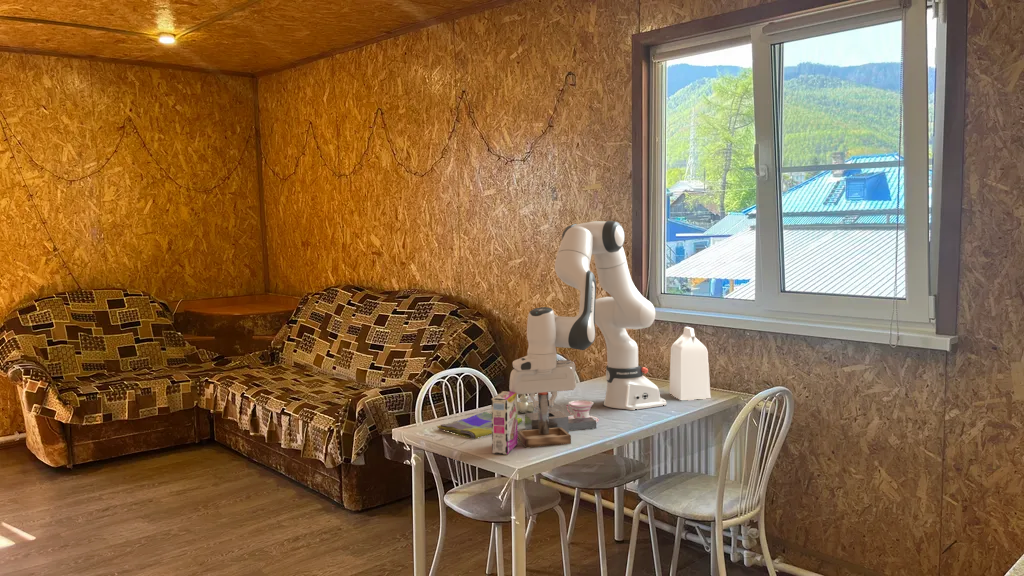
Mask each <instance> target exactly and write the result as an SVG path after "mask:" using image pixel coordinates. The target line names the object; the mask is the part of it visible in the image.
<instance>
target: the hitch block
mask: <svg viewBox="0 0 1024 576" xmlns="http://www.w3.org/2000/svg"><path fill="white" fill-rule="evenodd" d="M568 416H569V415H568ZM568 416H567V415H566V414H565V413H564V412H562V411H561V410H552V411H550V410H549V428H558V427H562V428H563V429H564V430H565V431H566V432H567V433H569V432H572V431H580V430H581V431H582V430H592V429H591V428H594V429H597V423H596V420H594V419H593V418H592V417H589V418H577V419H568ZM524 429H525V430H535V429H539V423H538V411H537V412H534V413H529V412H528V413H524ZM569 434H570V433H569Z"/></svg>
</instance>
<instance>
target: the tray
mask: <svg viewBox="0 0 1024 576" xmlns="http://www.w3.org/2000/svg"><path fill="white" fill-rule="evenodd" d="M518 439H519V440H518V442H520V443H521V444H522V445H523V446H524V448H526V447H530V448H538V446H540V447H547V446H548V447H551V446H560V445H561V444H562V445H568V444H569V445H570V444H572V435H571V434H570V433H567V432H566V431H565V430H564V429H563V428H562V427H558V428H549V433H548V434H539V429H535V430H526V429H525V430H524V429H523V430H518Z"/></svg>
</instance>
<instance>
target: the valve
mask: <svg viewBox="0 0 1024 576" xmlns="http://www.w3.org/2000/svg"><path fill="white" fill-rule="evenodd" d="M520 395H521V396H519V401H517V413H522V414H525V413H535V408H534V407H533V401H529V395H528V394H520ZM527 395H528V396H527Z"/></svg>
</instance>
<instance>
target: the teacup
mask: <svg viewBox="0 0 1024 576" xmlns="http://www.w3.org/2000/svg"><path fill="white" fill-rule="evenodd" d="M594 404H595V402H593V401H591V400H581V399H579V400H578V399H577V400H571V401H568V404H565V406H566V410H567V412H568V413H569V415H568V419H577V418H589V417H592V418H595V419H596V422H597V423H599V421H600V419H599V418H598V417H597V416H594V415H590V411H591V408H592V406H593V405H594ZM569 407H570V408H571V410H572V411H573V412H572V411H570V409H569Z"/></svg>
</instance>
